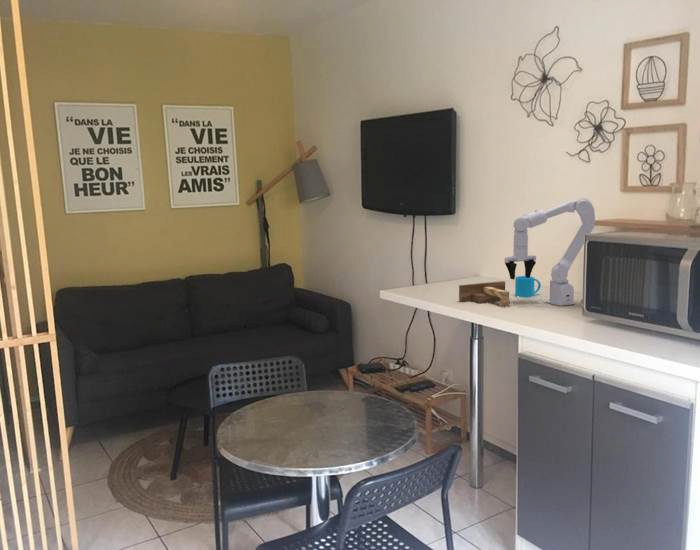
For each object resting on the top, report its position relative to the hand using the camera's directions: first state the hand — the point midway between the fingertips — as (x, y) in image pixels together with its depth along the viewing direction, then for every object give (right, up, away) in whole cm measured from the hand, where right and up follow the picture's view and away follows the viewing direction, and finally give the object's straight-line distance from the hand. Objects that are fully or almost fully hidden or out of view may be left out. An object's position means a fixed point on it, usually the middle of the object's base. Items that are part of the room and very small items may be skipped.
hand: (520, 278), depth 266 cm
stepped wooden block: (-13, -10, +4) cm, 17 cm away
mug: (+8, -8, +15) cm, 19 cm away
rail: (-10, -11, -1) cm, 15 cm away
